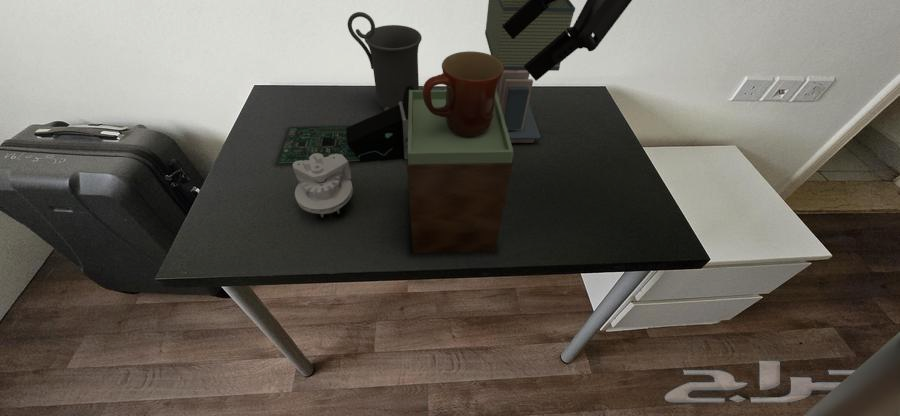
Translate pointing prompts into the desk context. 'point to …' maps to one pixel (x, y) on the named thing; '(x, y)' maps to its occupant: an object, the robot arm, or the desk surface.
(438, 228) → the plinth
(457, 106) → the mug
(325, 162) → the mechanical part
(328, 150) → the circuit board
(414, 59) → the mug
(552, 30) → the desk lamp
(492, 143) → the tray
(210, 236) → the desk surface
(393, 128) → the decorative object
